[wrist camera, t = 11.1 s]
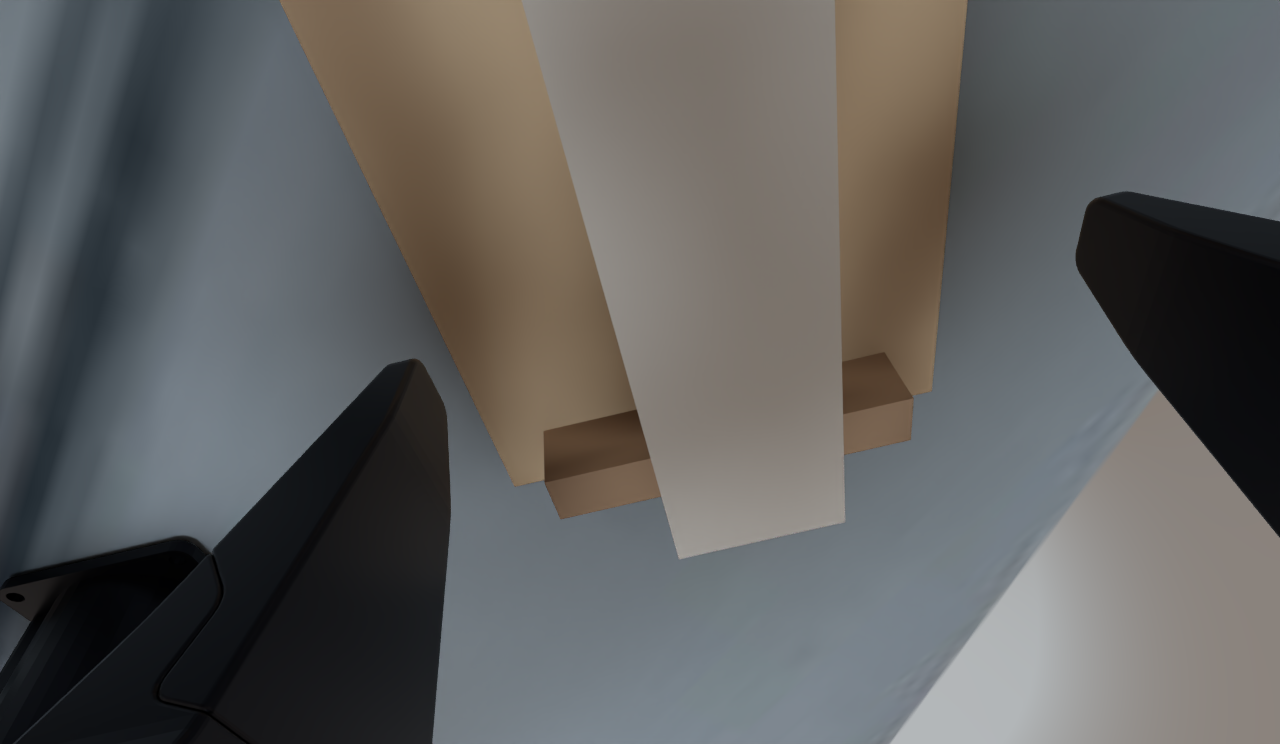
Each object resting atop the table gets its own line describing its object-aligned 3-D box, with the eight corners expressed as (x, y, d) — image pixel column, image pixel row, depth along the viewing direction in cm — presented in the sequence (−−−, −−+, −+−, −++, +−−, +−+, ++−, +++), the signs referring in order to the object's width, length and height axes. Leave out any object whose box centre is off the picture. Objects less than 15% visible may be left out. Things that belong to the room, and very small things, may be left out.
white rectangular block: (644, 380, 20) (678, 559, 15) (465, -299, 11) (418, -368, 6) (770, 350, 20) (845, 522, 15) (697, -362, 11) (824, -481, 6)
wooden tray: (515, 463, 23) (513, 539, 20) (67, -496, 10) (-76, -584, 7) (917, 370, 22) (962, 437, 20) (999, -761, 9) (1153, -943, 7)
